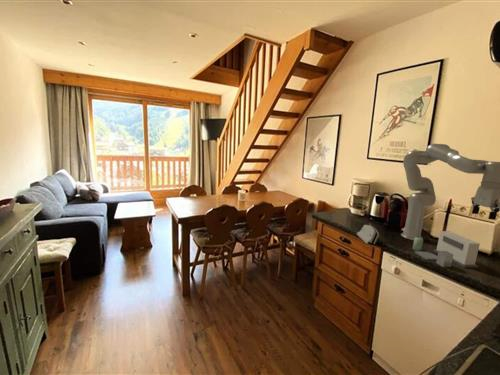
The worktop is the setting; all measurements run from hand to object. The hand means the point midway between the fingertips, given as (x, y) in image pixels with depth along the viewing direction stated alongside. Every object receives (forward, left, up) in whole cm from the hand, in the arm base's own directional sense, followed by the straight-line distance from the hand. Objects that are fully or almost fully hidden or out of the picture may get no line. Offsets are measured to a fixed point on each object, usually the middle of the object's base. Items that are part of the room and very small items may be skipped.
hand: (483, 216), depth 132 cm
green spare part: (-15, -21, -27) cm, 37 cm away
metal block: (+4, -21, -27) cm, 34 cm away
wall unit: (-3, -8, -27) cm, 28 cm away
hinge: (-31, -44, -27) cm, 60 cm away
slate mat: (-6, -21, -27) cm, 34 cm away
